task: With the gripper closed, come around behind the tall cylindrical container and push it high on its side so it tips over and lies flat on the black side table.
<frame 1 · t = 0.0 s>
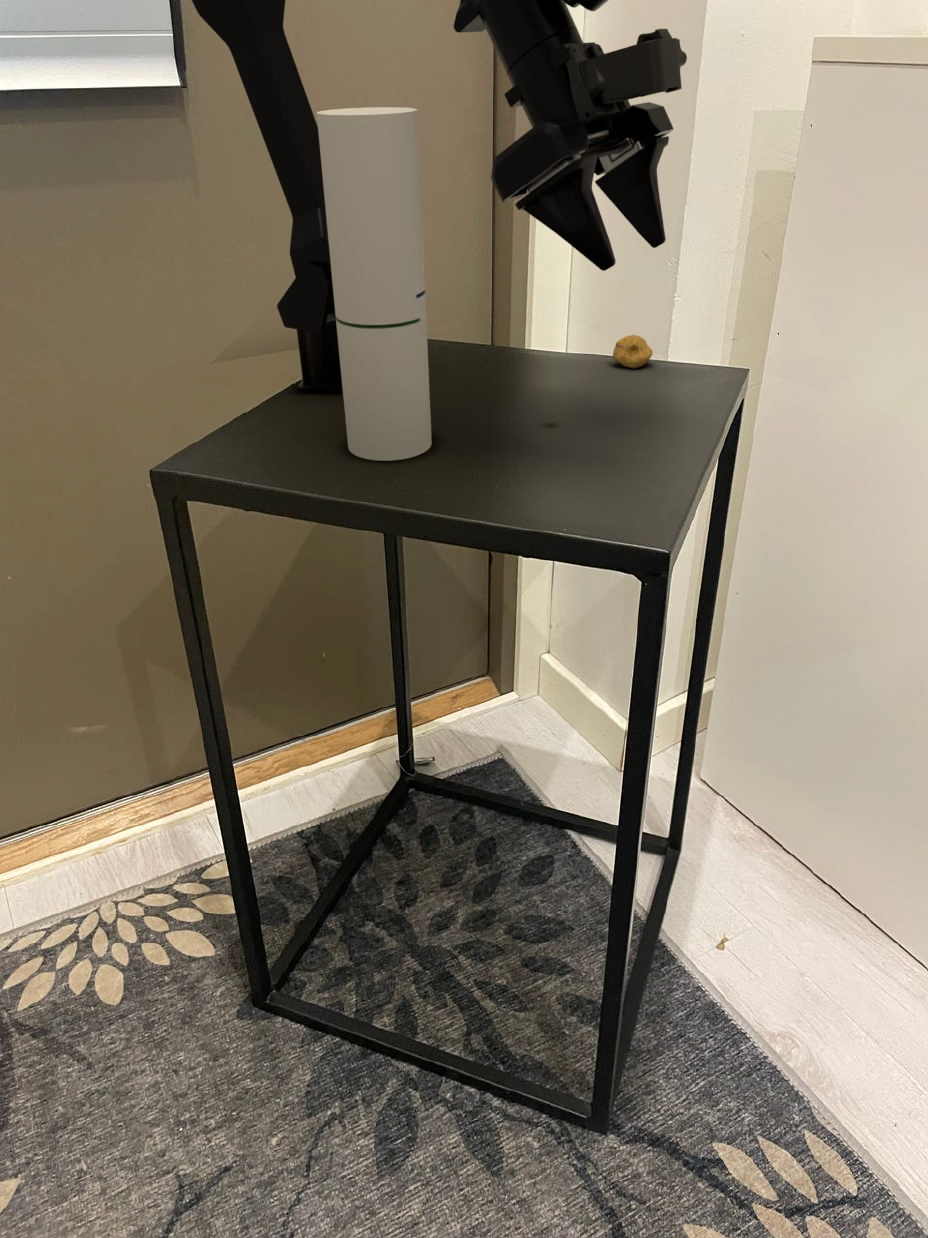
hand: (635, 255, 70), 15 cm above the table, tool tilted 35°, fingers open, 9 cm apart
rock: (632, 366, 96), on the table
cylindrical container: (390, 446, 79), on the table
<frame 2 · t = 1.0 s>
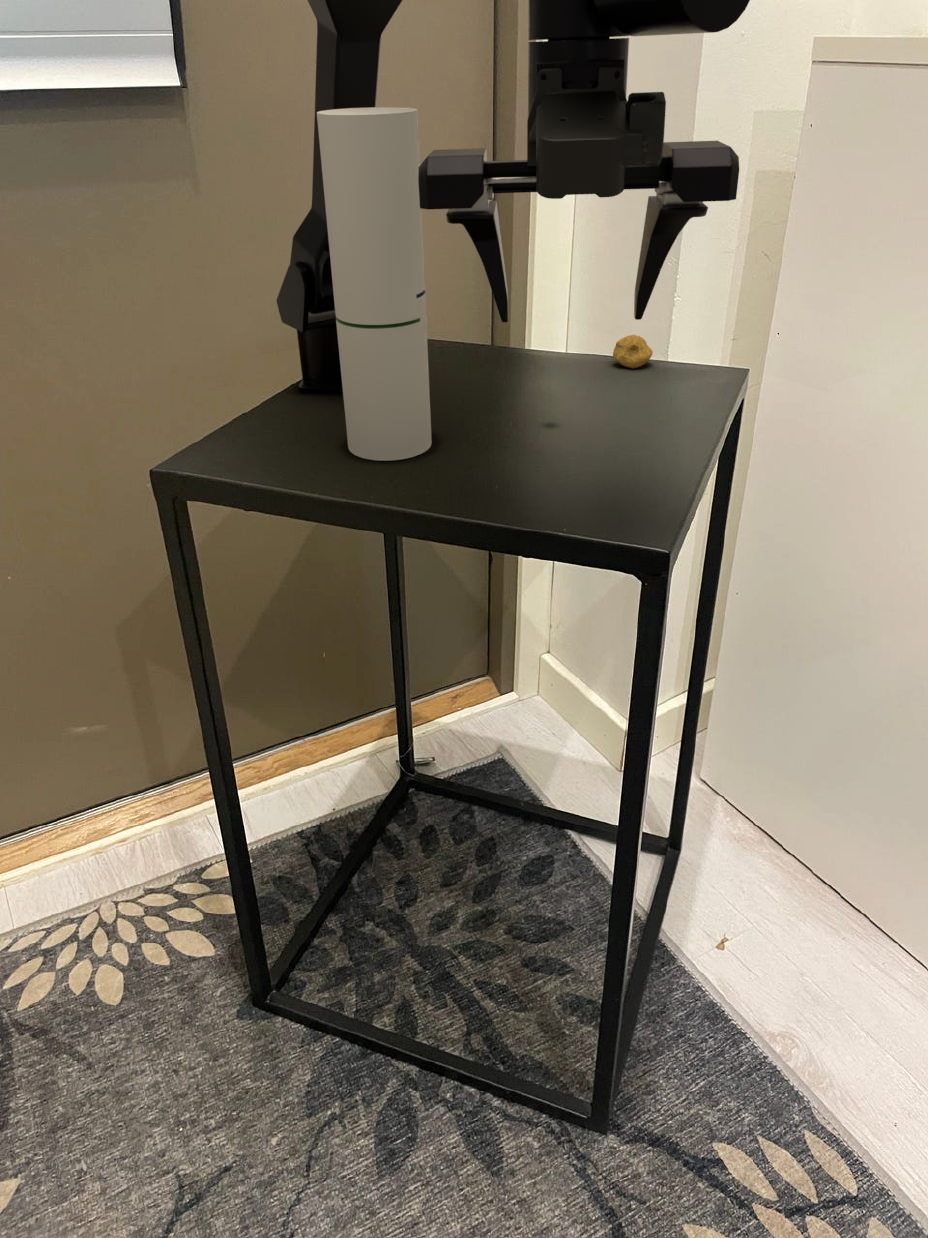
hand: (571, 319, 61), 13 cm above the table, tool pointing down, fingers open, 8 cm apart
nothing on the table moved.
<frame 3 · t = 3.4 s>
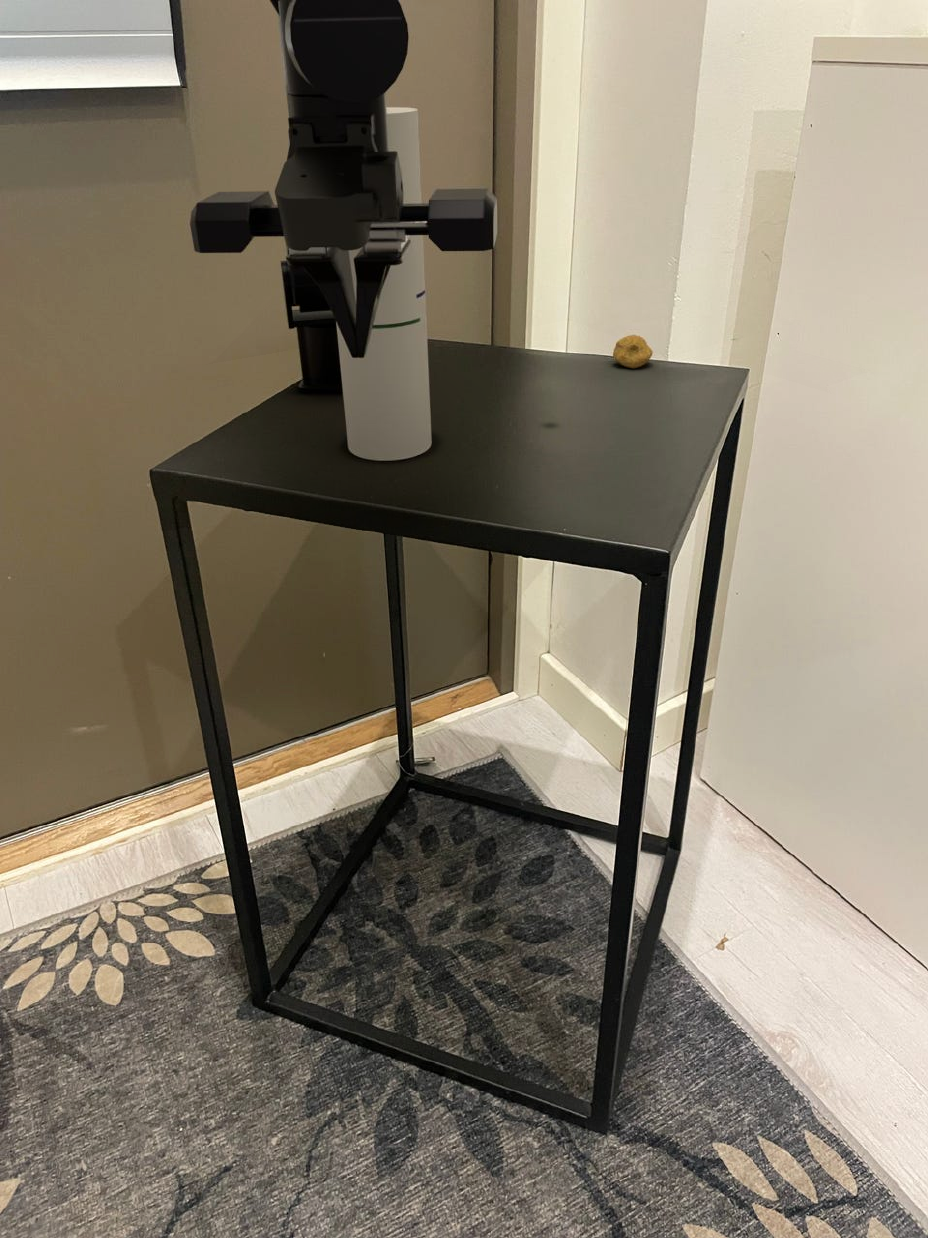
hand: (359, 356, 63), 11 cm above the table, tool pointing down, fingers closed
nothing on the table moved.
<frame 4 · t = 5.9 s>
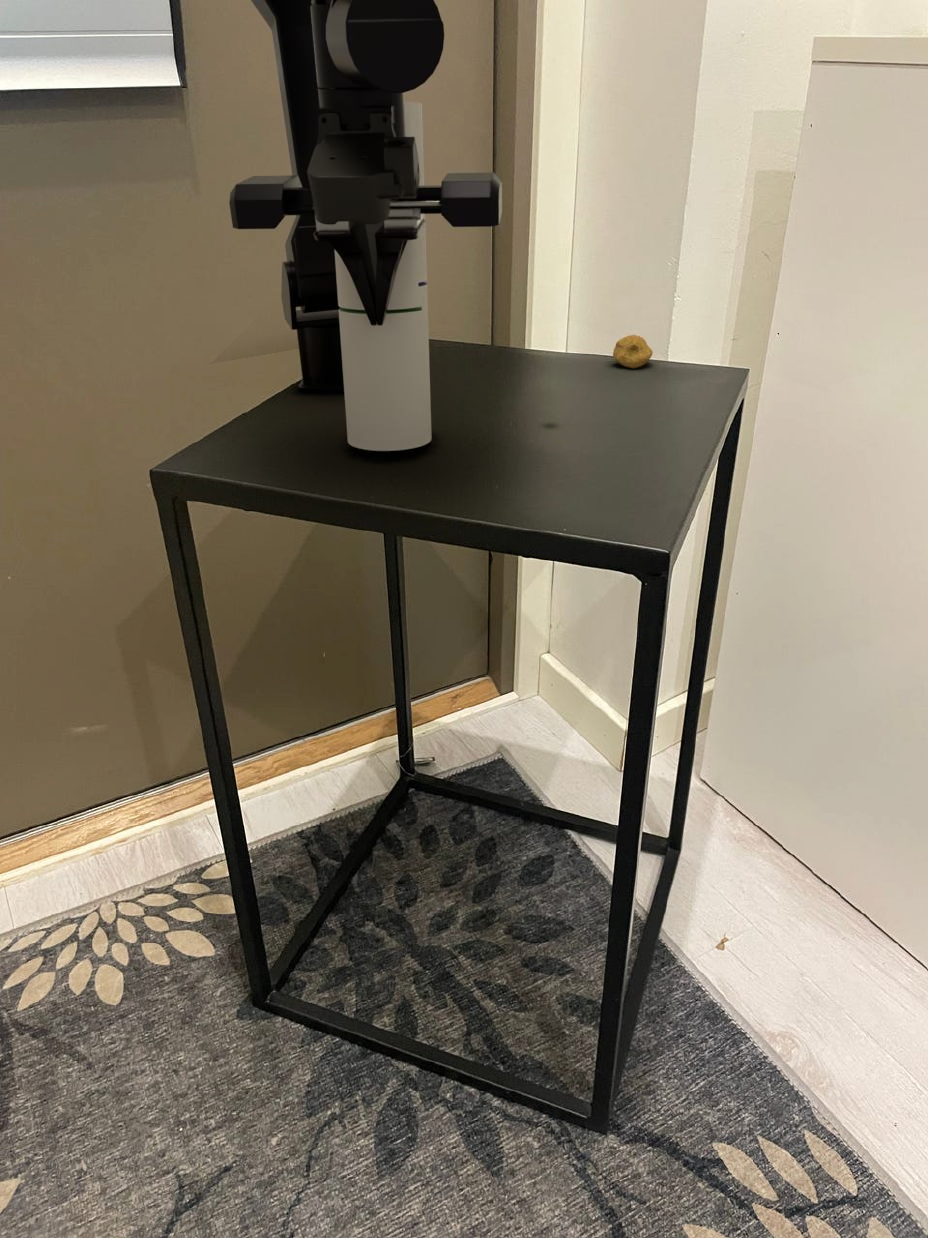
hand: (377, 324, 70), 11 cm above the table, tool pointing down, fingers closed
cylindrical container: (389, 441, 78), on the table, touching gripper
everything else where it was.
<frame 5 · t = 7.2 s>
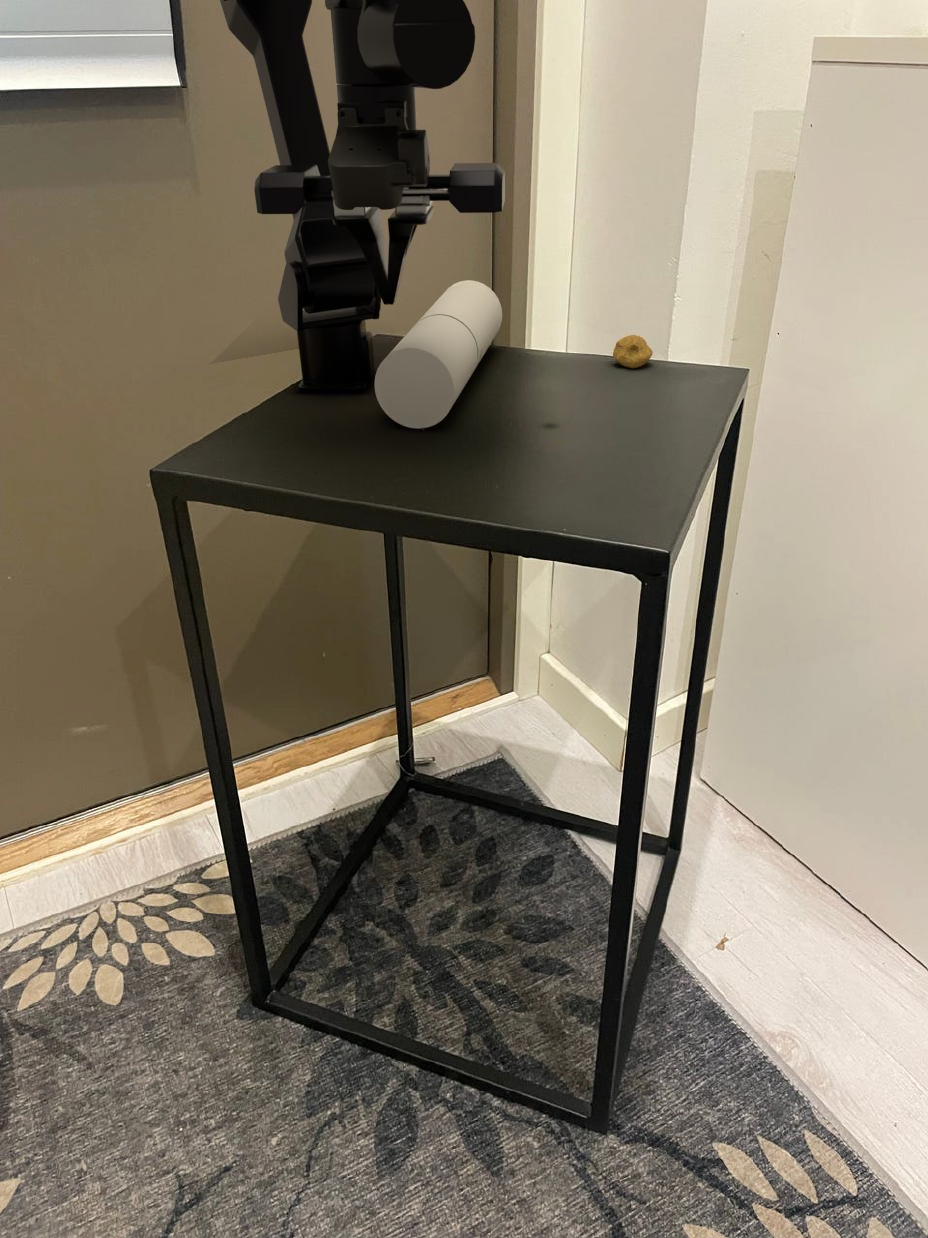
hand: (389, 303, 75), 11 cm above the table, tool pointing down, fingers closed
cylindrical container: (413, 389, 80), point 4 cm above the table
everything else where it was.
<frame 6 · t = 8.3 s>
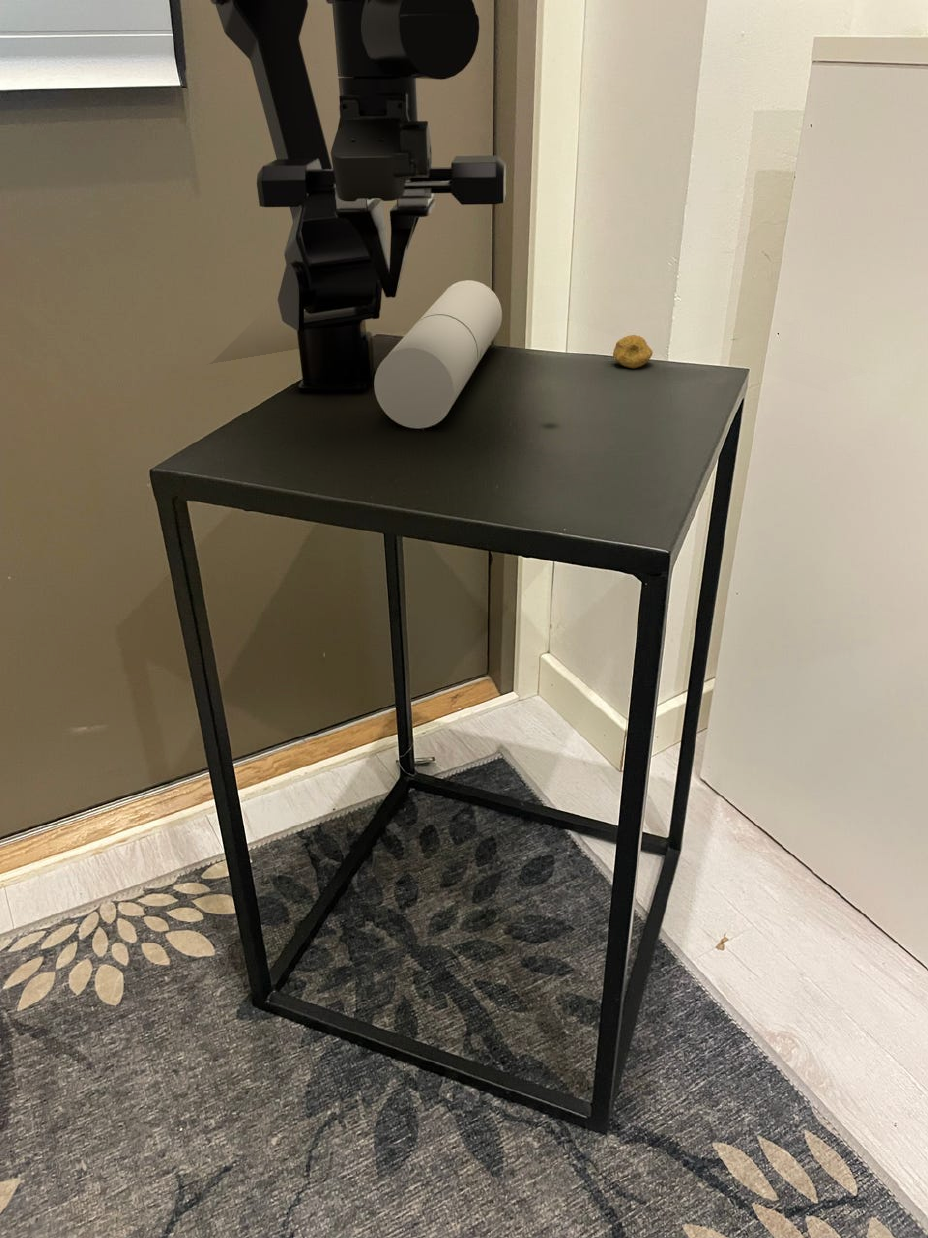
hand: (391, 296, 76), 11 cm above the table, tool pointing down, fingers closed
nothing on the table moved.
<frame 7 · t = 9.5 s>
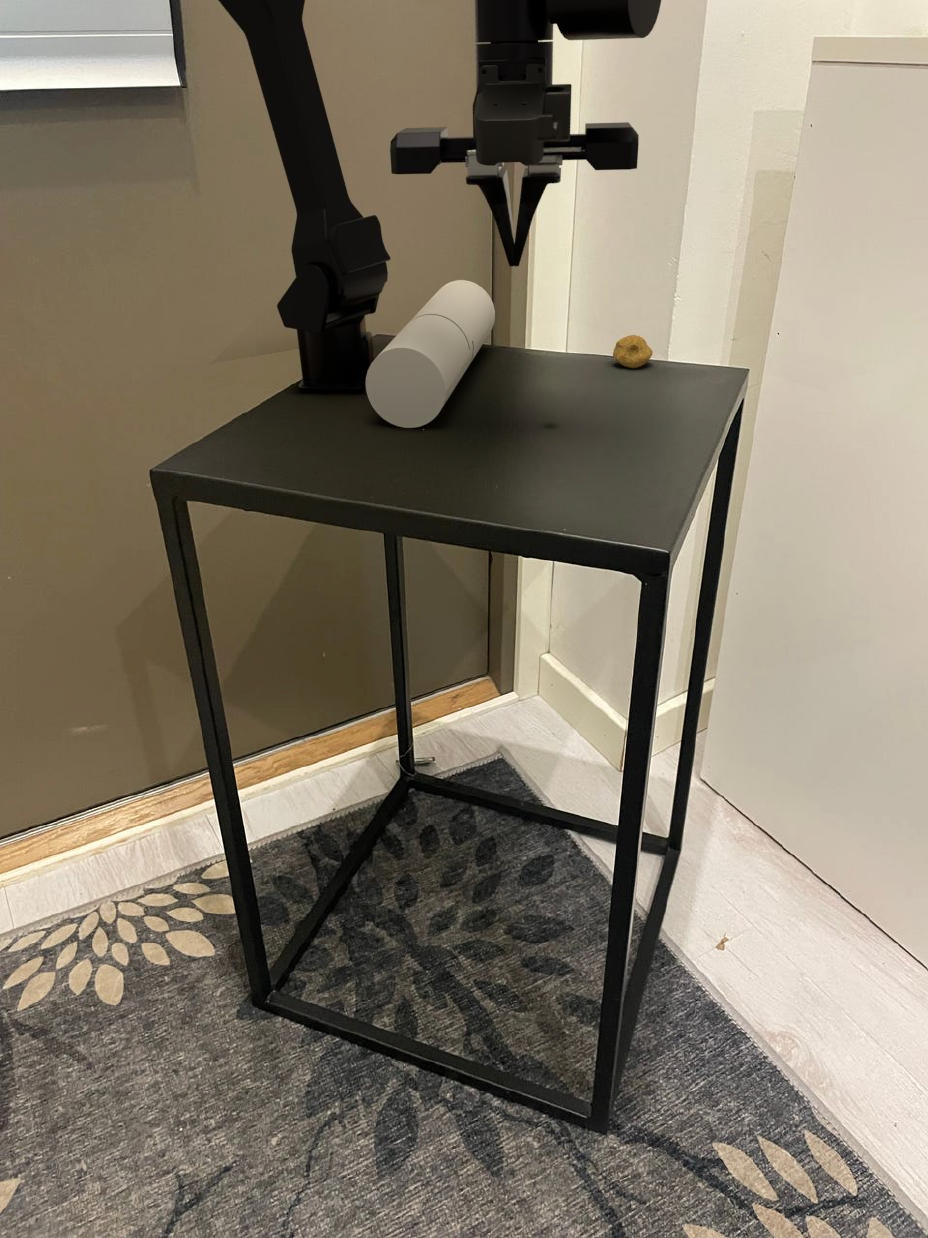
hand: (514, 265, 76), 13 cm above the table, tool pointing down, fingers closed
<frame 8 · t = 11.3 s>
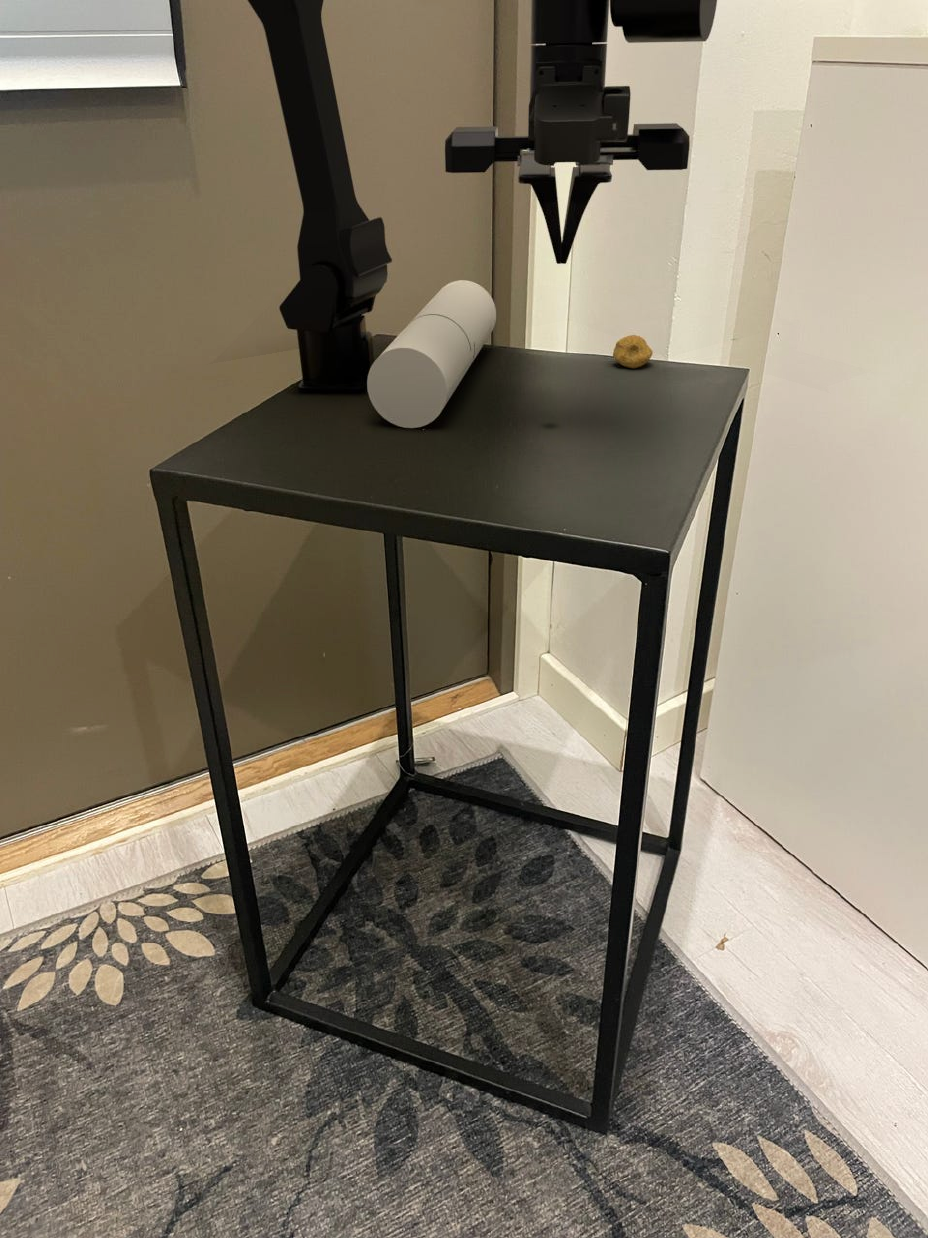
hand: (561, 262, 77), 13 cm above the table, tool pointing down, fingers closed
nothing on the table moved.
at the end: cylindrical container tilted 90°; cylindrical container inside the target area (8.5 cm from its centre), point 3.6 cm above the table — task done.
